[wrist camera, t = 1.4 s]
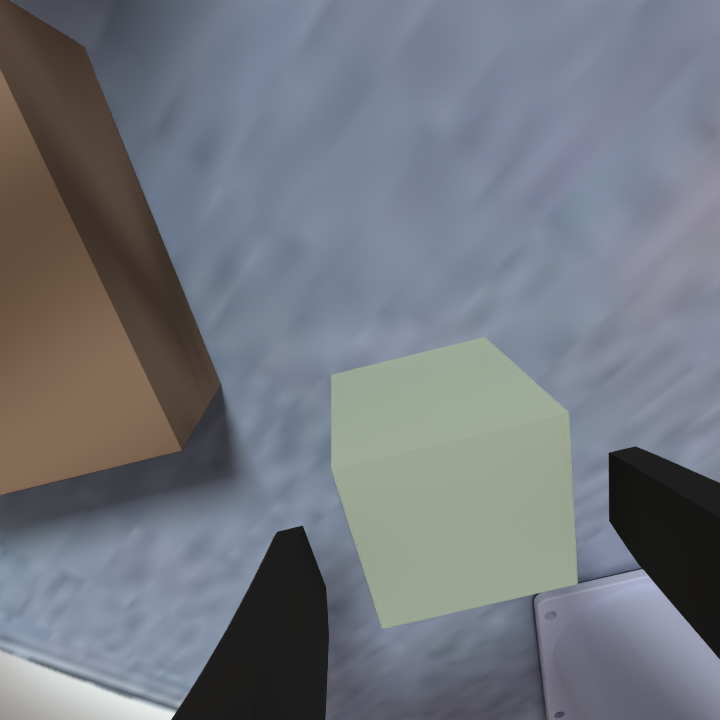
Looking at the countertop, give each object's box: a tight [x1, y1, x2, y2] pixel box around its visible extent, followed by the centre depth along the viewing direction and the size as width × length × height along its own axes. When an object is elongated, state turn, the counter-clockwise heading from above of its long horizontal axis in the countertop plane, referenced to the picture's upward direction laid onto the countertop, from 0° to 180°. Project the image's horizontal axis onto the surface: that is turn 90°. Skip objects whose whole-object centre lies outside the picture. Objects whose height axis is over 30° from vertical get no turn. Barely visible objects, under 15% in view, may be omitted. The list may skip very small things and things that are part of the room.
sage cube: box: [331, 337, 578, 629], centre depth 12 cm, size 5×5×5 cm
